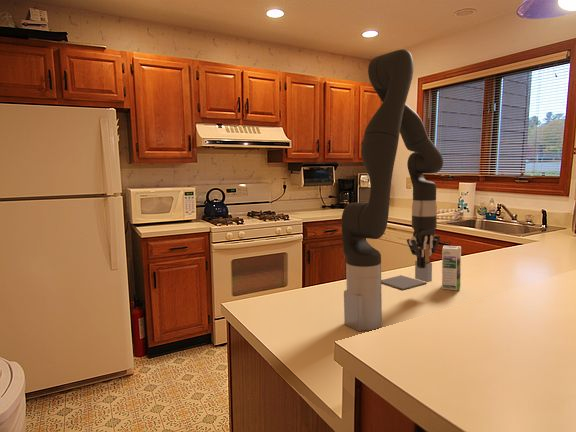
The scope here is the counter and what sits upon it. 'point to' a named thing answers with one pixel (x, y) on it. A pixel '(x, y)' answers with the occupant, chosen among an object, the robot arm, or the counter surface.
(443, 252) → the syrup box
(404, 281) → the mat
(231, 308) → the counter surface
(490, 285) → the counter surface
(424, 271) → the brown piece
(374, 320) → the robot arm
